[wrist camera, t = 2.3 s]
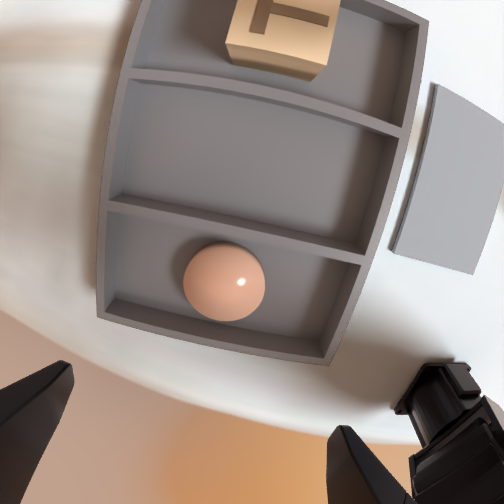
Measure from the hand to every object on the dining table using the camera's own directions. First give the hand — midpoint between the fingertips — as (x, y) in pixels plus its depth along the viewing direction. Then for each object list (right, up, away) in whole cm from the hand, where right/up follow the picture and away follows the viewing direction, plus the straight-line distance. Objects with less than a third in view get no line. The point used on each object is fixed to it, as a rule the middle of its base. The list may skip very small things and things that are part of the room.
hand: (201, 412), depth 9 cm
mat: (+16, +10, +9) cm, 21 cm away
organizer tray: (+2, +10, +9) cm, 14 cm away
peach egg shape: (0, +3, +11) cm, 12 cm away
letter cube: (+3, +17, +6) cm, 18 cm away
